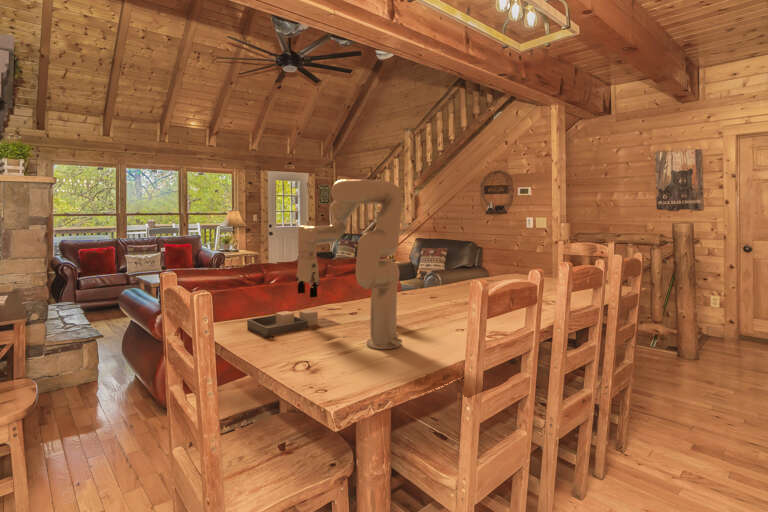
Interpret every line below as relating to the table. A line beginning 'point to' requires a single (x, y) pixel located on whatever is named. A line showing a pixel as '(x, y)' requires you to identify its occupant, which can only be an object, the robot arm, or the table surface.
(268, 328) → the charcoal bin
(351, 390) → the table surface
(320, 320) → the walnut board
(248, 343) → the table surface
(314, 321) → the beige cube
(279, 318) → the peach cube
